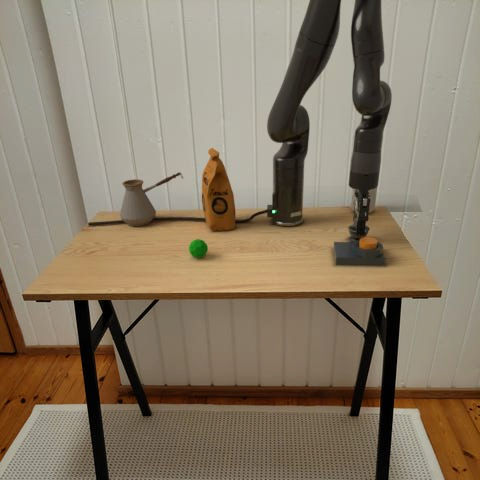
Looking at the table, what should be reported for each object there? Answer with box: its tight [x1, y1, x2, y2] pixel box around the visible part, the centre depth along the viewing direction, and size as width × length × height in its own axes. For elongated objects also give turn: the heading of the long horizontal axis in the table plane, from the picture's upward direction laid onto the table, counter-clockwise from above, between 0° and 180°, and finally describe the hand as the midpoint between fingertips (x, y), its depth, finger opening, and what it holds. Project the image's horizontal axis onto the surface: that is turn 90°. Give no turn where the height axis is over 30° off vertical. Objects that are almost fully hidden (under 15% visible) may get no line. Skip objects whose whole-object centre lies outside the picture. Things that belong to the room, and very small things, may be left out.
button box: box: [332, 241, 386, 267], centre depth 117 cm, size 12×10×4 cm
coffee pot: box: [119, 171, 184, 227], centre depth 143 cm, size 21×12×15 cm, turn 95°
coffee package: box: [201, 147, 237, 232], centre depth 136 cm, size 10×12×22 cm
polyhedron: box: [188, 238, 209, 259], centre depth 121 cm, size 5×5×5 cm
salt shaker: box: [347, 212, 371, 242], centre depth 125 cm, size 6×6×12 cm
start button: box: [359, 236, 379, 250], centre depth 114 cm, size 4×4×2 cm
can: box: [350, 186, 378, 214], centre depth 145 cm, size 8×8×12 cm
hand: (358, 227), depth 126 cm, fingers open, 8 cm apart
